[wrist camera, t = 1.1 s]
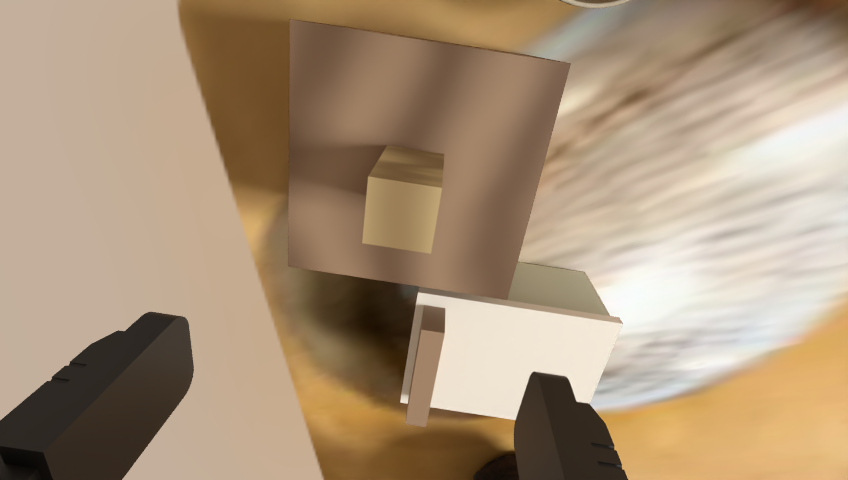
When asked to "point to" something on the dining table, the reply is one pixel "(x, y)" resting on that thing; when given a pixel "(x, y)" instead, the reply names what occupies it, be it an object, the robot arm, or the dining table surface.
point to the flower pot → (595, 3)
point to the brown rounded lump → (499, 469)
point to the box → (554, 289)
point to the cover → (414, 156)
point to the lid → (497, 353)
